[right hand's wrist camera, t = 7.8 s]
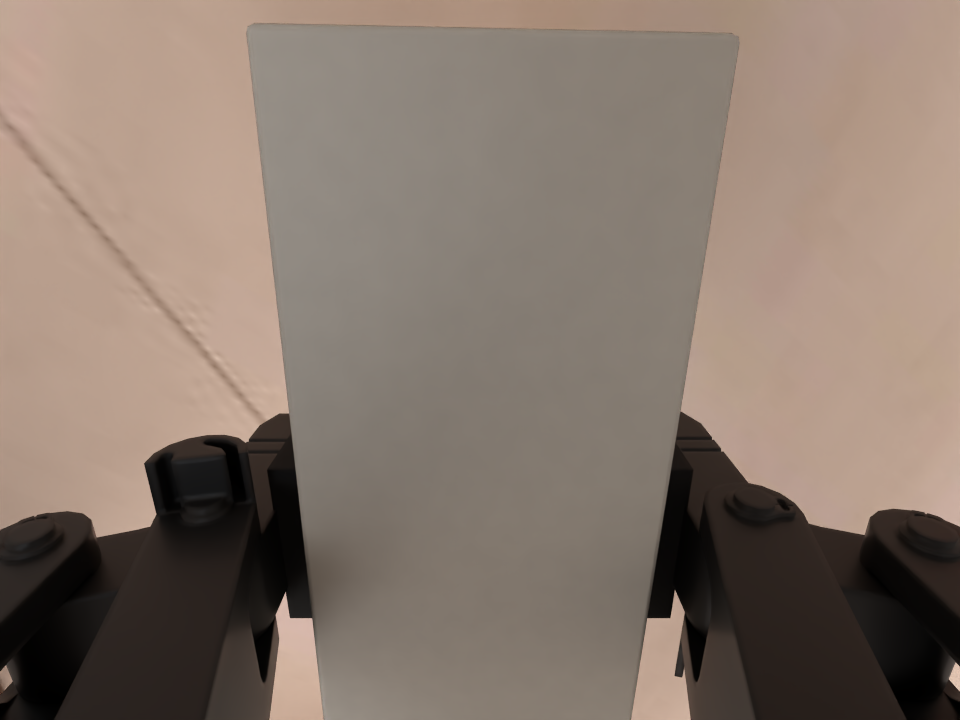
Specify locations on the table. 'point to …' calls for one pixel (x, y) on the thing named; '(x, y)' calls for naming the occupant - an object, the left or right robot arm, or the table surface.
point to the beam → (485, 346)
